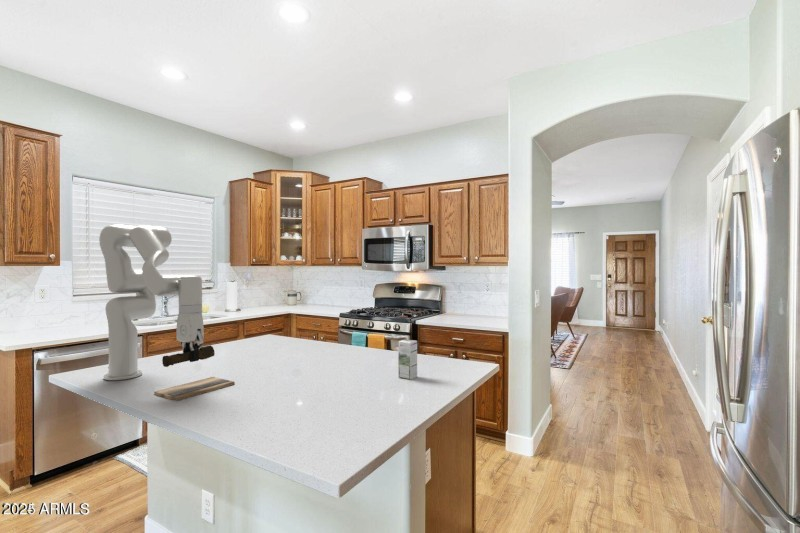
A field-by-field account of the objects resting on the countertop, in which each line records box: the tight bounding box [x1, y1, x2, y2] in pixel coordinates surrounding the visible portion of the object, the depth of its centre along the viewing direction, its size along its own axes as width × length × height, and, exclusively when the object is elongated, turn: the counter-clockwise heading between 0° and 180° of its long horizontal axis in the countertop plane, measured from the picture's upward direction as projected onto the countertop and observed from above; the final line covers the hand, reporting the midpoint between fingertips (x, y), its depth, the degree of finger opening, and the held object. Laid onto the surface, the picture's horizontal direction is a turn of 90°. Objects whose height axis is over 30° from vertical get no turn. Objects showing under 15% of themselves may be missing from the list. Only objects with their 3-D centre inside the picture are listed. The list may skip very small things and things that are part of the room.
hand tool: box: [161, 345, 215, 368], centre depth 147 cm, size 19×4×5 cm, turn 148°
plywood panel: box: [153, 376, 235, 402], centre depth 145 cm, size 13×22×1 cm, turn 149°
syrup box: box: [397, 339, 418, 380], centre depth 161 cm, size 6×6×14 cm
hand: (191, 360), depth 147 cm, fingers closed on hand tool, 3 cm apart
